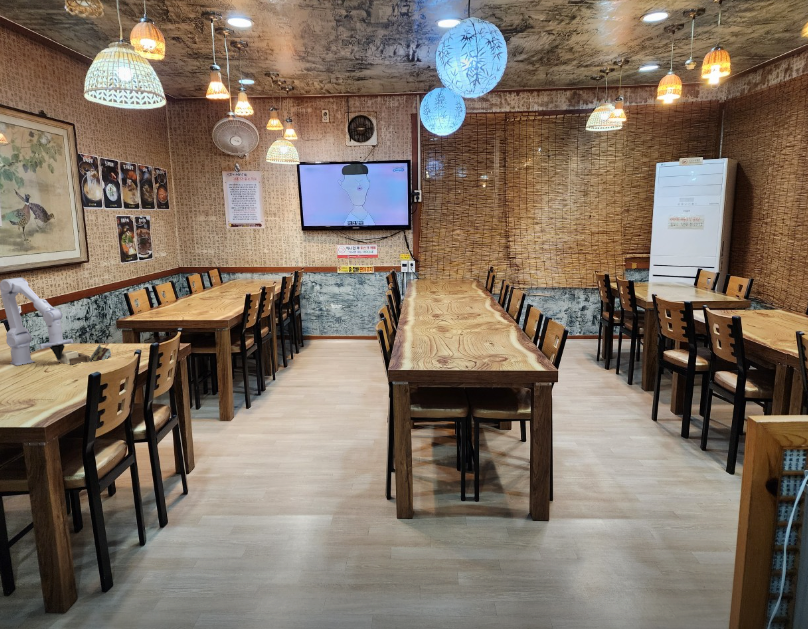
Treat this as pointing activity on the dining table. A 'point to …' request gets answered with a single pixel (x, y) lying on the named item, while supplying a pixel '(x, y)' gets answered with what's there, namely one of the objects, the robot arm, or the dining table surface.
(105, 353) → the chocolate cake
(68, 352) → the maple block
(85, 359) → the walnut stop
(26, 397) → the dining table surface
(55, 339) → the robot arm
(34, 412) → the dining table surface
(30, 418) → the dining table surface
